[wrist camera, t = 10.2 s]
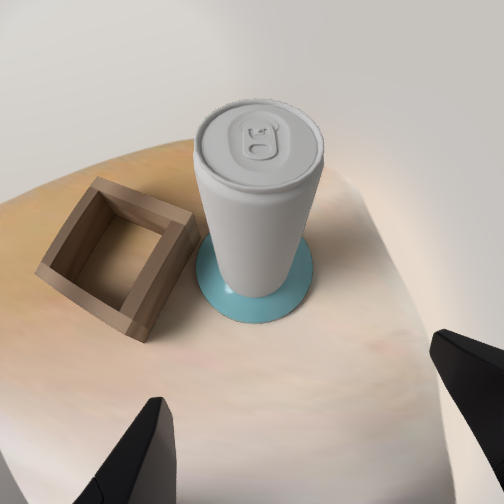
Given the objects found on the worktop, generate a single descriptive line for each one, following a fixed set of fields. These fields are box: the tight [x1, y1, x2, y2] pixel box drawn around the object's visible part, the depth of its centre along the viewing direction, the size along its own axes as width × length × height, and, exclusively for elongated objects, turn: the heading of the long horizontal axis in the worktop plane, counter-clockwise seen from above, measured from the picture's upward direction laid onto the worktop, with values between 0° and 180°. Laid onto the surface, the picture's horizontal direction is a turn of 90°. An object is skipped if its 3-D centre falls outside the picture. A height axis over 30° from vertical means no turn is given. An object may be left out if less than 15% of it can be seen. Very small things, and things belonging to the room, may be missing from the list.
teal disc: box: [196, 233, 313, 324], centre depth 22 cm, size 8×8×1 cm
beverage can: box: [193, 99, 324, 298], centre depth 16 cm, size 5×5×12 cm
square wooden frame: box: [35, 176, 201, 343], centre depth 20 cm, size 9×9×4 cm
